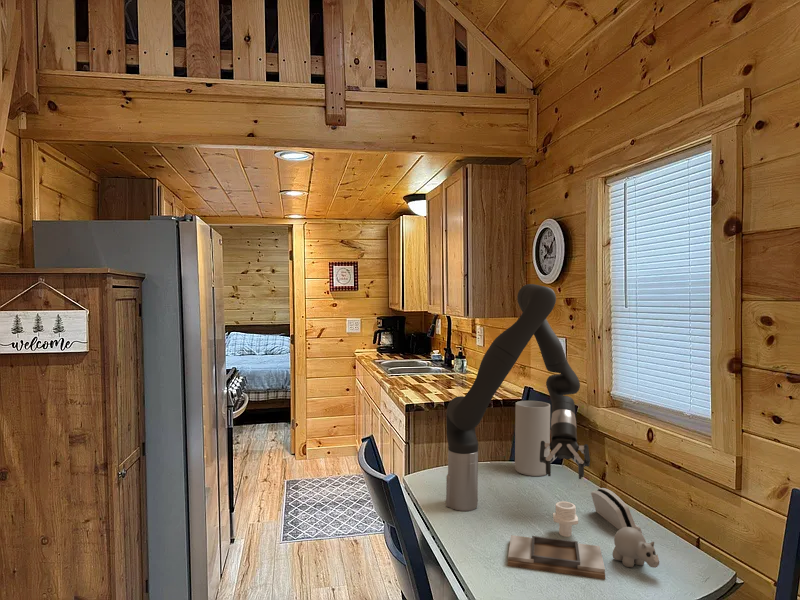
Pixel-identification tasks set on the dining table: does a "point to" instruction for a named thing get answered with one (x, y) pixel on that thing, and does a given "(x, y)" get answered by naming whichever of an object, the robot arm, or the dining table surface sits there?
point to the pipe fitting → (565, 517)
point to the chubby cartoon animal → (634, 548)
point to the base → (556, 556)
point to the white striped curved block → (613, 509)
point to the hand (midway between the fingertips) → (564, 476)
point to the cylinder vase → (531, 436)
